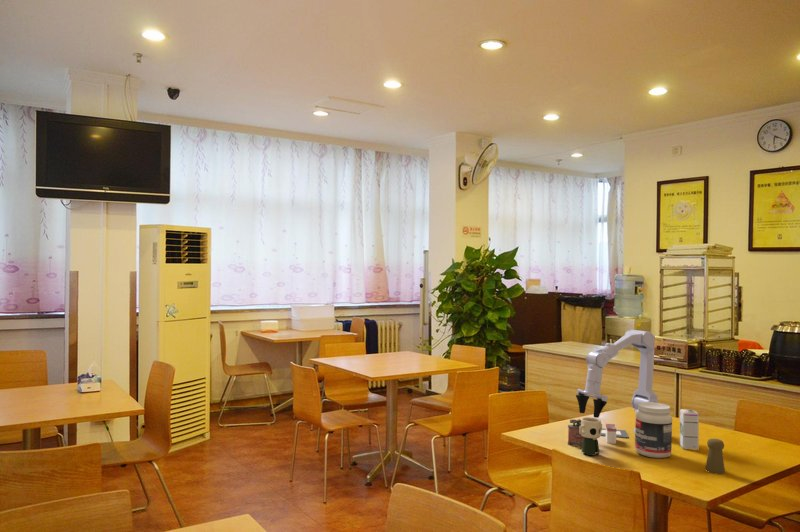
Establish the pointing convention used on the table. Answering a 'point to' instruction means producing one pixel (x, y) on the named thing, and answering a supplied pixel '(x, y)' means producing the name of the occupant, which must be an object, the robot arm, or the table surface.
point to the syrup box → (689, 429)
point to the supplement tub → (653, 430)
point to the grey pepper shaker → (715, 456)
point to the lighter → (575, 433)
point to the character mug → (590, 434)
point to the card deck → (611, 433)
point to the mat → (618, 433)
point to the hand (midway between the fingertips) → (588, 415)
